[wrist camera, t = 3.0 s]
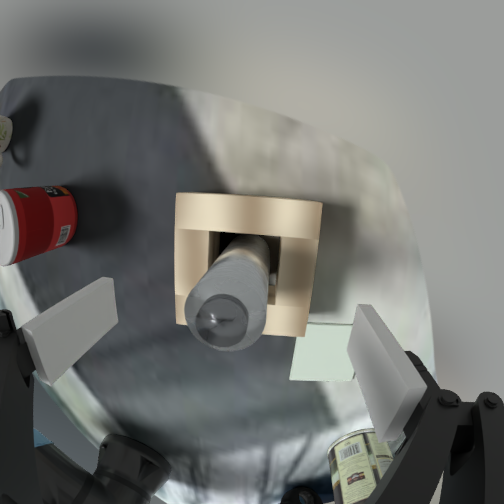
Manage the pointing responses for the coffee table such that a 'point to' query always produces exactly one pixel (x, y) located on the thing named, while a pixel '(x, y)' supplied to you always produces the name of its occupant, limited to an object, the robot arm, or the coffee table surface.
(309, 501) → the controller
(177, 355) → the coffee table surface
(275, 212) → the housing
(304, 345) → the pad
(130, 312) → the coffee table surface
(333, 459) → the coffee can
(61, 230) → the canned food
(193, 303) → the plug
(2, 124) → the mug
